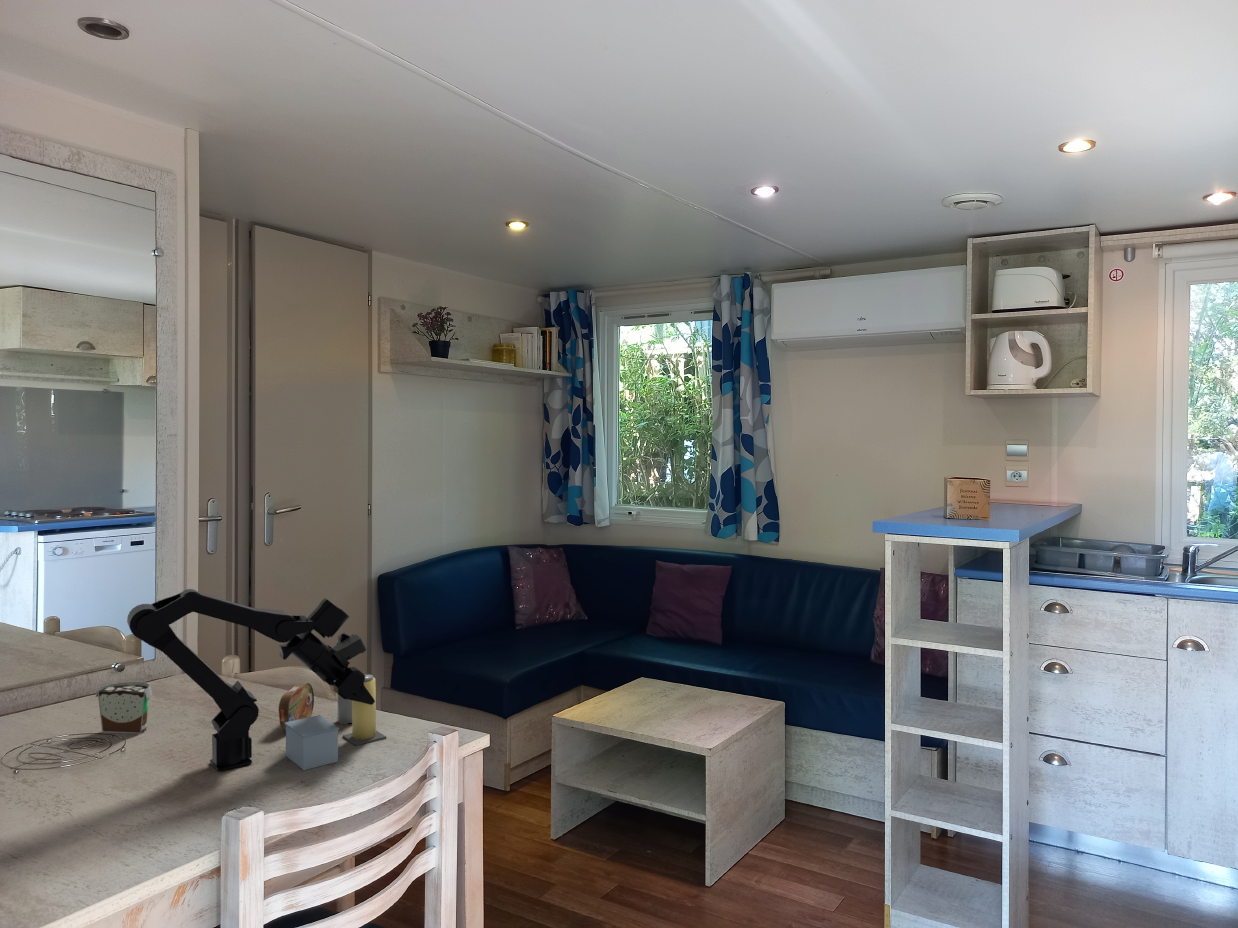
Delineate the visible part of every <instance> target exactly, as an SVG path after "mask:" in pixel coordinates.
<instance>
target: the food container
mask: <svg viewBox="0 0 1238 928" xmlns="http://www.w3.org/2000/svg"><path fill="white" fill-rule="evenodd" d="M152 696H153V691H152V687H151V686H150V683H148V682H145V681H126V682H125V681H124V682H117V683H110V684H105V685H103V686H99V687H97V690H95V698H97V699H98V706H99V714H100V715H99V717H100V725H101V733H110V734H112V733H114V734H135V735H137V734H139V735H141V734H143V733H144V732H146V730H147V724H148V723H147V722H148V710H149V699H150V697H152Z"/></svg>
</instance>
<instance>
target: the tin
mask: <svg viewBox="0 0 1238 928" xmlns="http://www.w3.org/2000/svg"><path fill="white" fill-rule="evenodd" d="M314 695H315V694H314V688H313V686H312V685H311V683H309V682H305V683H297V684H295V685H294V686H293V687H292V688H290V689H289V690H288V691H287V692H285V693H284V694H283V695H282V696H281V698H280V700H279V703H278V718H279V725H280V728H281V729H282V730H284V731H286V726H285V725H284V723H285V722H289V721H294V720H299V719H304V718H308V717H312V714H313V710H314V705H315V696H314Z"/></svg>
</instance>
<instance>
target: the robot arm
mask: <svg viewBox="0 0 1238 928" xmlns="http://www.w3.org/2000/svg"><path fill="white" fill-rule="evenodd" d="M191 613H196V614H200V615H204V616H206V617H211V618H215V619H218V620H221V621H225V622H228V623H232V624H235V625H240V626H242V627H245V628H246V627H247V628H250V629H252V630H254V631H255V632H258V633H259V634H261V635H263V636H265V637H267V638H269V639H272V640H273V641H275V642H277V643H283V644H279V645H278V647H279V657H280V658H281V659H282V660H284V661H285V660H287V659H288V658H289V657H290V656H291V655H293V656H294V657H295V658H296V659H297V660H299V661H300V662H301V663H302V664H304V665H305V666H306V667H307V668H308V669H309V670H310V671H312V673H314V674H316V676H317V677H318V678H320V680H322V681H323V682H324V683H326V684H328V685H329V686H332V687H333V691H334V692H335V693H336V694H338V695H340V696H341V697H342V698H343V699H346V700H347V699H348V700H353V701H357V702H362V703H366V704H370V705H372V704H373V703H374V702H375V700H374V698H373V697H372V696H371V694H370V693H369V692H368V690H367V689H366V687H365V686H364V680H365V675H366V674H364V673H363V672H362V671H361V670H360V669H358V668H357V667H355V666H350V667H349V665H350V664H351V662H350V660H352V659H354V658H355V657H356V656H358V655H360V654H363V653H365V652H366V651H367V647H366V645H365V644H364V642H363V640H362V638H361V636H359V635H358V634H353V633H352V634H351V635H348V633H346V632H343V633H340V634H339V635H338V637H337V640H338V641H337V642H336V645H334V646H333V647H332V646H330V645H329V644H325V642H323V641H322V640H321V639H320V638H319V637H318V636H316V635H315V634H314V633H313V631H314V632H315V633H316V634H318V635H319V636H321V638H322V639H325V638H326V637H327V638H333V637H334V635H335V634H337V632H338V631H339V630H340V628H341V629H342V627H343V626H344V624H345V623H346V622H348V620H349V619H350V618H351V617H350V615H349V614H347V613H346V612H345V611H344V610H343V609H341V608H340V607H338V605H337V606H336V605H335V604H334V603H332V602H331V600H329V599H327V598H323V599H322V600H321V601H320V602H319V604H318V605H317V606H316V608H315V609H314V610H313V611H312V612H311V613H310V614H309V615H308V617H307V616H306V615H300V614H299V615H297V614H294V615H293V614H290V613H289V612H288V611H285V610H281V609H273V608H272V609H271V608H257V607H256V608H255V607H250V606H247V605H243V604H240V603H236V602H235V601H234V602H233V601H230V600H227V599H223V598H219V597H217V596H212V595H210V594H206V593H203V592H199V591H197V589H193V588H188V589H187V588H186V589H184V590H183V591H181V592H179V593H177V594H174V595H171V596H169V597H165V598H162V599H159V600H157V601H155V602H153V603H142V604H139V605H138V604H137V605H136V606H134V607H132V609H131V610H130V611H129V613H128V615H127V619H126V622H127V625H128V627H129V630H130V632H131V633H132V635H133V636H134V637H135V638H137V639H139V640H140V641H142V642H144V643H145V644H147V645H149V646H150V647H152V648H155V649H156V650H158V651H159V652H161V653H163V654H164V655H165V656H167V657H168V658H169V659H170V660H171V661H172V662H173V663H174V664H175V665H176V666H177V667H178V668H179V669H180V670H181V671H182V672H184V673H185V674H186V675H187V676H188V678H190V679H191V680H192V681H193V682H194V683H196V684H197V685H198V686H199V687H200V688H201V689H202V690H203V691H204V692H206V694H208V696H210V697H211V699H213V701H214V702H215V704H216V706H218V708H219V709H220V710H219V712H218V713H217V714H216V715H215V716H214V717H213V718H212V719H211V723H212V726H213V728H214V730H215V731H216V733H213V734H211V746H212V748H211V749H212V750H211V751H212V752H211V754H212V755H211V756H212V757H211V758H212V759H210V760H209V763H210V765H212V767H214V768H215V769H216V771H218V772H221V771H222V772H223V771H226V770H229V769H233V768H234V769H235V768H238V767H243V766H247V765H252V764H253V760H252V759H251V758H252V757H253V754H252V753H253V751H252V749H253V745H252V742H253V740H252V737H251V736H250V729H251V726H252V725H253V724H254V723H255V722H256V721H257V720H258V717H259V712H260V711H259V710H260V709H259V707H258V705H257V704H256V702H258V700H257V698H256V697H255V695H253V693H252V692H251V691H249V690H247V689H245V687H244V686H243V685H242V683H241V682H240V681H239V680H236V682H235V683H234V684H230V683H229V682H227V681H226V680H224V679H223V678H222V677H221V676H220V675H219V674H218V673H216V671H215V670H214V669H212V668H211V667H210V666H209V664H207V663H206V662H205V661H204V660H203V659H202V658H201V657H200V656H198V655H197V654H196V653H195V652H194V651H193V650H192V649H191V648H190V647H189V646H188V645H187V644H186V643H185V642H184V641H183V640H182V639H181V638H180V637H178V636H177V634H176V632H174V630H173V628H171V627H172V626H170V625H171V624H174V623H176V622H177V621H178V620H180V619H182V618H184V617H185V616H187V615H189V614H191Z"/></svg>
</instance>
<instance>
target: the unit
mask: <svg viewBox="0 0 1238 928" xmlns="http://www.w3.org/2000/svg"><path fill="white" fill-rule="evenodd" d="M284 725H285V726H286V730H285V756H286V757H287V759H289V760H291V761H292V762H293V763H294V764H295V765H297V767H299V768H301V769H302V771H307V770H310V769H314V768H317V767H322V766H326V765H330V764H333V763H338V762H339V745H338V744H339V741H338V740H339V739H338V738H339V735H338V734H339V733H338V731H340V727H339V726H337V725H336V724H334V723H332V721H330V720H328V719H326V718H324V716H322V715H320V714H319V715H313V716H310V717H308V718H304V719H299V720H294V721H289V722H285V723H284Z"/></svg>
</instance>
